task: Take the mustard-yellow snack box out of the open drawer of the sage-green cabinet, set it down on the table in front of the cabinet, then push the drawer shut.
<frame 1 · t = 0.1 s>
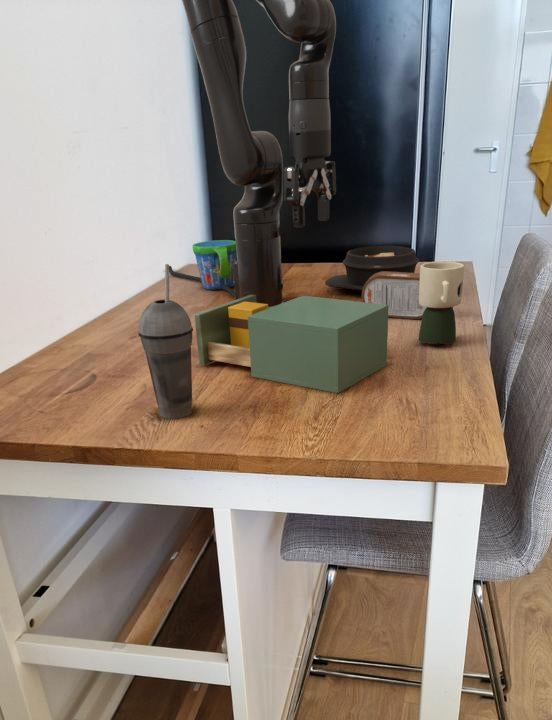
hand: (311, 224, 136), 17 cm above the table, tool pointing down, fingers open, 8 cm apart
beverage cup: (176, 413, 100), on the table
tin: (398, 318, 139), on the table
snack box: (250, 347, 119), point 2 cm above the table, touching drawer
casserole: (379, 290, 161), on the table
character mug: (436, 344, 123), on the table
drawer: (258, 333, 117), point 5 cm above the table, slide at 9.5 cm, touching snack box
cabinet: (319, 370, 113), on the table
snack cup: (218, 288, 171), on the table
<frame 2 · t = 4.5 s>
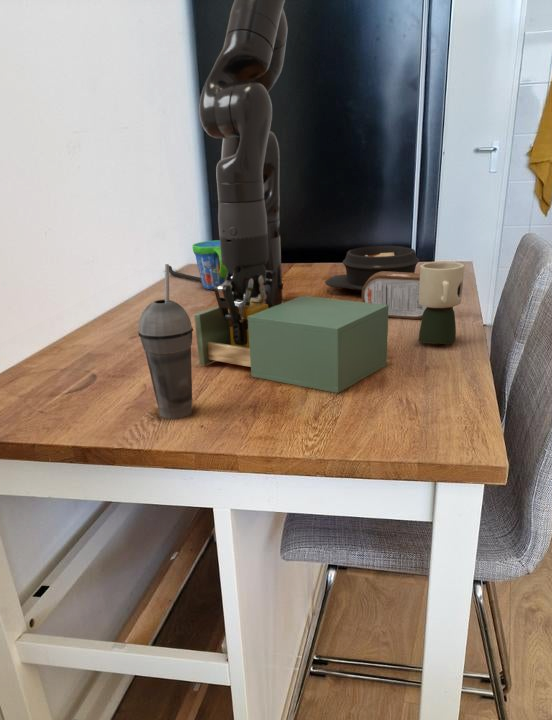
hand: (250, 340, 118), 3 cm above the table, tool pointing down, fingers closed on snack box, 4 cm apart
snack box: (250, 347, 119), point 2 cm above the table, touching drawer, gripper
everything else where it was.
when the fingers open (1 cm above the table, at t = 12.4 s): snack box stays where it is, on the table.
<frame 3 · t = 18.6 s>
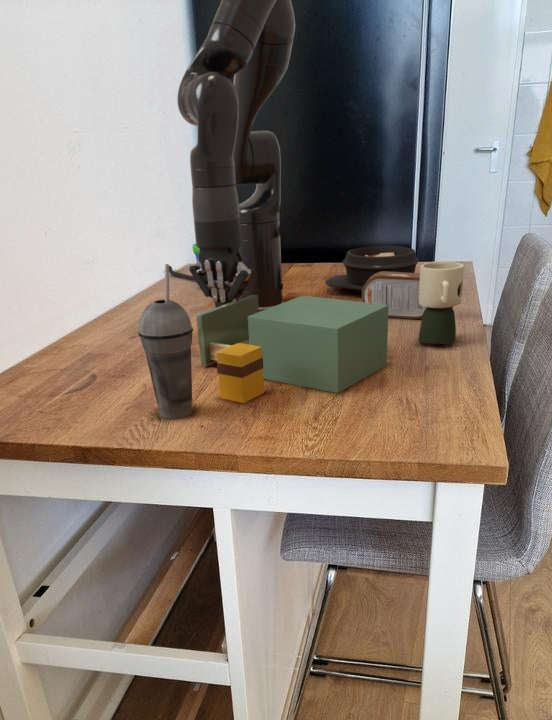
hand: (225, 322, 124), 5 cm above the table, tool pointing down, fingers closed
snack box: (242, 395, 104), on the table
drawer: (260, 333, 116), point 5 cm above the table, slide at 9.1 cm, touching gripper
everything else where it was.
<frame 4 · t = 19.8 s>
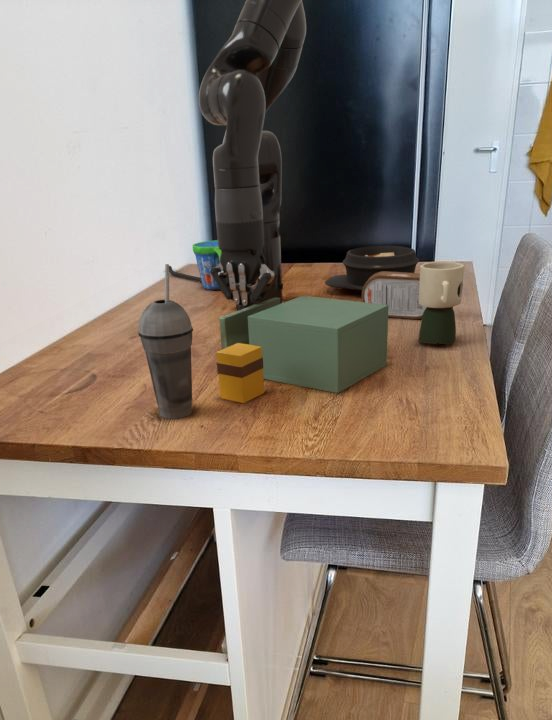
hand: (246, 325, 121), 5 cm above the table, tool pointing down, fingers closed
drawer: (283, 337, 114), point 5 cm above the table, slide at 4.3 cm, touching gripper
everything else where it was.
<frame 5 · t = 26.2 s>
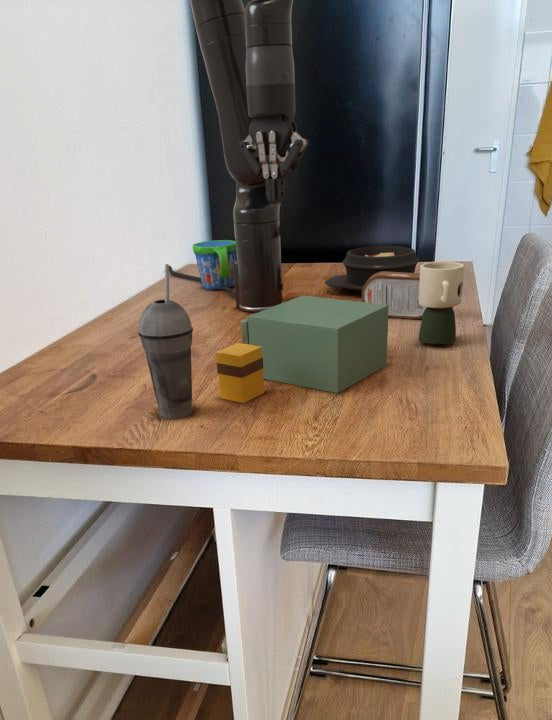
hand: (275, 203, 118), 23 cm above the table, tool pointing down, fingers closed
drawer: (306, 340, 112), point 5 cm above the table, slide at 0.0 cm
everything else where it was.
at the end: snack box inside the target area (0.1 cm from its centre), on the table; snack box tilted 0°; drawer slide at 0.0 cm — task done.
